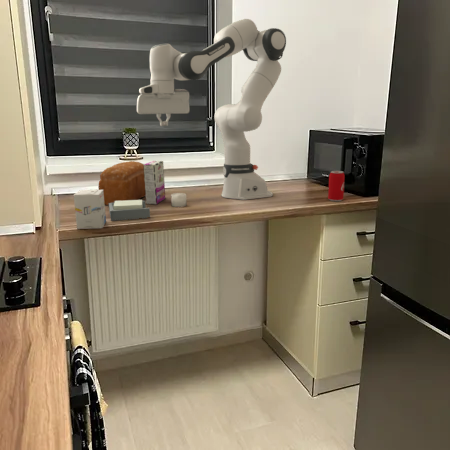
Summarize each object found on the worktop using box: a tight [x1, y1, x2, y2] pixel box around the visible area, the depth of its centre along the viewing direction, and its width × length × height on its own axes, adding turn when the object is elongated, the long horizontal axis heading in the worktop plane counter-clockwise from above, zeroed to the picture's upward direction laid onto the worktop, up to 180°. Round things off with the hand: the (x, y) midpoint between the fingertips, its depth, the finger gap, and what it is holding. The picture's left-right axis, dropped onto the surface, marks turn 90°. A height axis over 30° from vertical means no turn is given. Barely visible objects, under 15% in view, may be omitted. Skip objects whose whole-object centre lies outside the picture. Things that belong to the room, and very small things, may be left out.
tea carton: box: [113, 199, 143, 210], centre depth 165 cm, size 10×9×5 cm
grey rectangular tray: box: [108, 200, 151, 222], centre depth 166 cm, size 14×14×4 cm
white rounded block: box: [170, 192, 187, 208], centre depth 181 cm, size 6×6×4 cm
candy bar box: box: [143, 160, 166, 205], centre depth 186 cm, size 11×5×16 cm, turn 168°
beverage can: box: [327, 170, 346, 202], centre depth 186 cm, size 6×6×12 cm
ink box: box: [73, 189, 107, 230], centre depth 151 cm, size 9×8×12 cm
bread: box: [98, 160, 146, 206], centre depth 192 cm, size 14×26×16 cm, turn 168°
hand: (164, 126), depth 176 cm, fingers closed
